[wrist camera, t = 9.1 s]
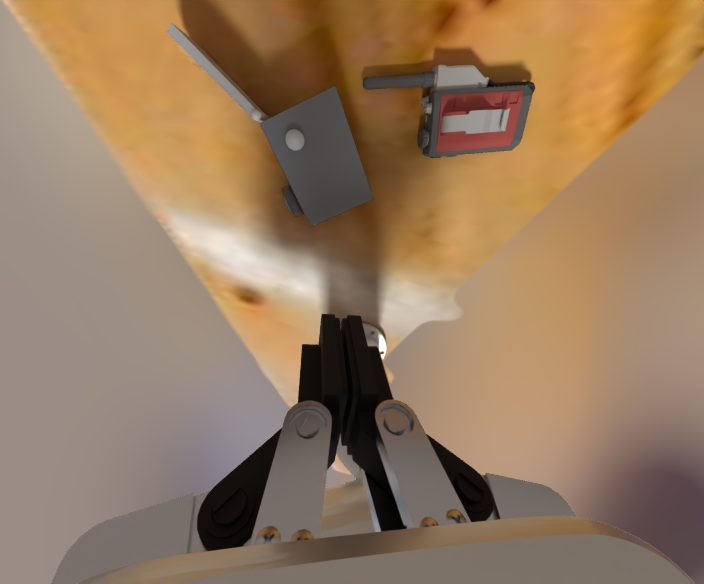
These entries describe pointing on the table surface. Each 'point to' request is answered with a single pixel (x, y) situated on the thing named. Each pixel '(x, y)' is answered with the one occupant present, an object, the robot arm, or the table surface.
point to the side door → (215, 72)
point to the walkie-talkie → (465, 110)
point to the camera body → (318, 158)
